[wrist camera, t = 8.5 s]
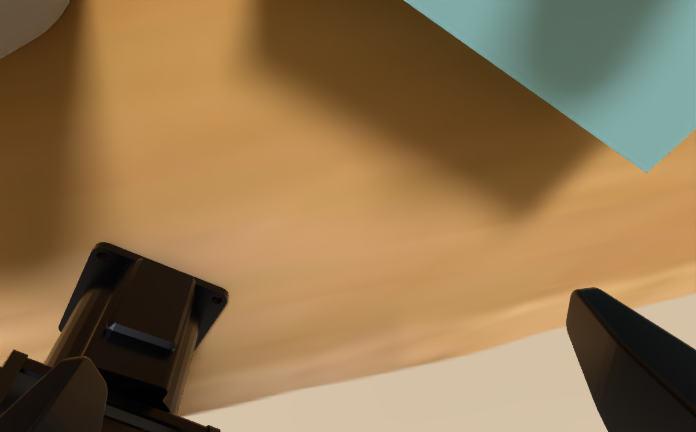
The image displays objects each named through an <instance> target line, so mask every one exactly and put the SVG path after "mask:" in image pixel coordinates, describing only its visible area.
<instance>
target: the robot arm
mask: <svg viewBox="0 0 696 432" xmlns="http://www.w3.org/2000/svg"><path fill="white" fill-rule="evenodd" d="M101 252H104V253H106V254H107V255H104V254H102V253H101ZM216 296H217V297H220V298H216ZM228 296H229V295H228V292H227V291H226V290H225V289H223V288H221V287H219V286H216V285H214V284H211V283H208V282H206V281H203V280H201V279H198V278H196V277H193V276H191V275H188V274H186V273H183V272H180V271H178V270H175V269H173V268H170V267H168V266H165V265H163V264H160V263H158V262H155V261H153V260H150V259H147V258H145V257H142V256H140V255H137V254H135V253H132V252H130V251H127V250H125V249H122V248H120V247H117V246H114V245H112V244H109V243H105V242H101V243H98V244H96V245H95V247H94V248H93V250H92V252H91V254H90V256H89V258H88V261H87V263H86V265H85V267H84V270H83V272H82V274H81V277H80V279H79V281H78V283H77V286H76V288H75V290H74V292H73V295H72V297H71V299H70V302H69V304H68V306H67V308H66V311H65V313H64V315H63V317H62V320H61V322H60V324H59V331H60V332H61V334H60V336H59V338H58V339H57V341H56V343H55V345H54V346H53V348H52V350H51V352H50V354H49V355H48V357H47V359H46V361H45V362H44V364H43V363H40V362H37V361H35V360H32V359H30V358H27V357H28V355H27V354H24V353H21V352H19V351H16V350H14V349H13V351H12V352H11V354H10V355H9V356H8V358H7V359H6V361H5V362H4V364H3V365H2V366H1V367H0V432H220V429H217V428H215V427H212V426H210V425H208V426H203V425H201V424H198V423H196V422H193V421H190V420H188V419H185V418H183V417H180V416H177V413H178V409H179V405H180V401H181V398H182V394H183V390H184V386H185V382H186V378H187V375H188V371H189V367H190V363H191V359H192V356H193V352H194V351H195V349H196V348H197V346H198V345H199V343H200V342H201V340H202V339H203V337H204V336H205V335H206V333H207V332H208V330H209V329H210V327H211V326H212V324H213V323H214V321H215V320H216V318H217V317H218V315H219V314H220V313H221V311H222V310H223V308H224V307H225V305H226V304H227V300H228ZM566 326H567V331H568V334H569V337H570V340H571V342H572V345H573V348H574V350H575V353H576V356H577V358H578V361H579V363H580V366H581V369H582V371H583V374H584V376H585V379H586V382H587V384H588V387H589V390H590V392H591V395H592V398H593V400H594V402H595V405H596V407H597V410H598V412H599V414H600V416H601V418H602V420H603V422H604V424H605V426H606V428H607V430H608V432H696V350H695V349H694V348H692V347H690V346H689V345H688V344H686V343H684V342H683V341H681V340H680V339H678V338H677V337H675V336H673V335H672V334H670V333H669V332H667V331H665V330H664V329H662V328H661V327H659V326H658V325H656V324H654V323H653V322H651V321H650V320H648V319H646V318H645V317H643V316H642V315H640V314H639V313H637V312H635V311H634V310H632V309H631V308H629V307H628V306H626V305H624V304H623V303H621V302H620V301H618V300H616V299H615V298H613V297H612V296H610V295H609V294H607V293H605V292H604V291H602V290H601V289H598V288H595V287H592V288H584V289H577V290H574V291H573V292H572V294H571V297H570V303H569V308H568V314H567V319H566Z"/></svg>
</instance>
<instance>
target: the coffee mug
mask: <svg viewBox="0 0 696 432" xmlns="http://www.w3.org/2000/svg"><path fill="white" fill-rule="evenodd" d="M69 2H70V0H0V59H1V58H3V57H5V56H6V55H8V54H10V53H12V52H13V51H15V50H17V49H19V48H20V47H22V46H24V45H25V44H27V43H29V42H31V41H32V40H34V39H36V38H37V37H39V36H40V35H42V34H43V33H44V32H46V31H47V30H48V29H49V28H50V27H51V26H52V25H53V24H54V23H55V22H56V21H57V20H58V19H59V18H60V17H61V15H62V14H63V12H64V11H65V9H66V7H67V6H68V4H69Z"/></svg>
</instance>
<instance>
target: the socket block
mask: <svg viewBox="0 0 696 432" xmlns="http://www.w3.org/2000/svg"><path fill="white" fill-rule="evenodd" d="M404 1H405V2H407V3H408V4H410V5H411V6H412V7H414V8H415V9H417V10H418V11H419V12H421V13H422V14H424V15H425V16H426V17H428V18H429V19H431V20H432V21H433V22H435V23H436V24H438V25H439V26H440V27H442V28H443V29H445V30H446V31H447V32H449V33H450V34H452V35H453V36H455V37H456V38H457V39H459V40H460V41H462V42H463V43H464V44H466V45H467V46H469V47H470V48H471V49H473V50H474V51H476V52H477V53H478V54H480V55H481V56H483V57H484V58H485V59H487V60H488V61H490V62H491V63H492V64H494V65H495V66H497V67H498V68H499V69H501V70H502V71H504V72H505V73H507V74H508V75H509V76H511V77H512V78H514V79H515V80H516V81H518V82H519V83H521V84H522V85H523V86H525V87H526V88H528V89H529V90H530V91H532V92H533V93H535V94H536V95H537V96H539V97H540V98H542V99H543V100H544V101H546V102H547V103H549V104H550V105H552V106H553V107H554V108H556V109H557V110H559V111H560V112H561V113H563V114H564V115H566V116H567V117H568V118H570V119H571V120H573V121H574V122H575V123H577V124H578V125H580V126H581V127H582V128H584V129H585V130H587V131H588V132H589V133H591V134H592V135H594V136H595V137H596V138H598V139H599V140H601V141H602V142H604V143H605V144H606V145H608V146H609V147H611V148H612V149H613V150H615V151H616V152H618V153H619V154H620V155H622V156H623V157H625V158H626V159H627V160H629V161H630V162H632V163H633V164H634V165H636V166H637V167H639V168H640V169H641V170H643V171H644V172H646V173H647V172H648V171H649V170H651V169H652V168H653V167H654V166H655V165H656V164H657V163H658V162H659V161H660V160H662V159H663V158H664V157H665V156H666V155H667V154H668V153H669V152H670V151H672V150H673V149H674V148H675V147H676V146H677V145H678V144H679V143H680V142H681V141H683V140H684V139H685V138H686V137H687V136H688V135H689V134H690V133H691V132H692V131H694V130H695V129H696V0H404Z"/></svg>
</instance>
